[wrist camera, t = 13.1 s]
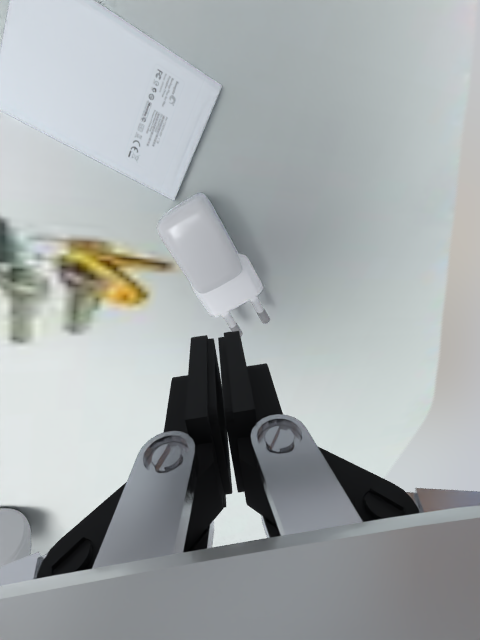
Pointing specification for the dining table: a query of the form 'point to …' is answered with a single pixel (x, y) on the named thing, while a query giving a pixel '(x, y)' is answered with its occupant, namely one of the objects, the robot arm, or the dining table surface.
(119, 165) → the external hard drive
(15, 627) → the robot arm
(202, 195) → the power adapter
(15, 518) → the headphones
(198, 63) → the dining table surface
